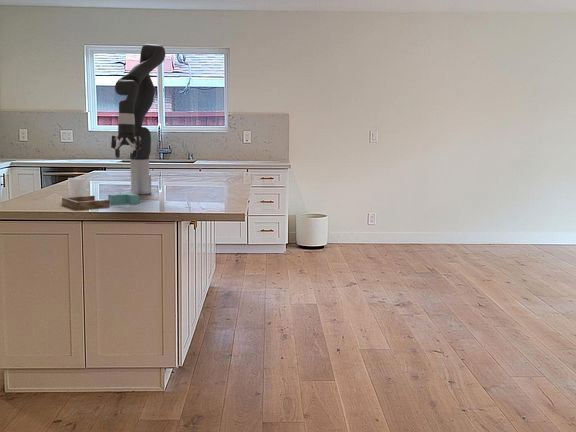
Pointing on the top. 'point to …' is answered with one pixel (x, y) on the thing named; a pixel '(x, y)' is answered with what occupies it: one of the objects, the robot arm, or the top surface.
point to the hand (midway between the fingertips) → (126, 158)
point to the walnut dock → (84, 202)
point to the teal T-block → (123, 198)
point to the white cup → (77, 187)
